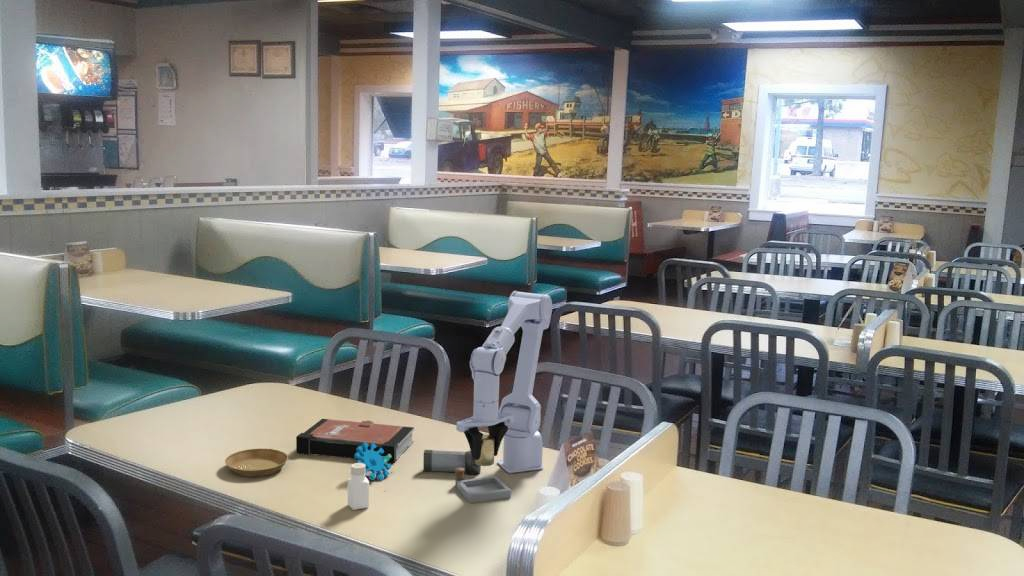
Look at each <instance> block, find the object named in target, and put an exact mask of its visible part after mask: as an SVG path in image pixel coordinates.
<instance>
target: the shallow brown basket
mask: <svg viewBox="0 0 1024 576" xmlns="http://www.w3.org/2000/svg"><path fill="white" fill-rule="evenodd" d="M288 459H289V456H288V454H287V453H285V452H284V451H281V450H278V449H273V448H249V449H243V450H239V451H237V452H234V453H231V454H229V456H227V457H226V458H225V460H224V461H225V462H224V463H225V465H226V466H227V468H229V469H230V470H231V471H232V472H233V473H235V474H237V475H238V474H239V476H243V477H249V476H251V478H252V477H254V478H256V476H257V477H263V476H268V475H272V474H274V473H276V472H278V471H279V470H280V469H281V468H283V466H284V465H285V464H286V463H287V461H288ZM243 465H244V466H243ZM249 465H250V466H249ZM239 466H240V467H239ZM245 466H246V468H245ZM235 467H236V468H235ZM241 467H242V469H241ZM251 467H252V468H251Z"/></svg>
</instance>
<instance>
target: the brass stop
mask: <svg viewBox="0 0 1024 576" xmlns="http://www.w3.org/2000/svg"><path fill="white" fill-rule="evenodd" d="M494 445H495V437H494V436H492V435H489V434H484V433H483V436H482V440H481V445H480V458H479V460H475V464H477V465H480V466H481V467H488V466H493V465H494V464H495V456H494Z"/></svg>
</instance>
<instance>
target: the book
mask: <svg viewBox="0 0 1024 576" xmlns="http://www.w3.org/2000/svg"><path fill="white" fill-rule="evenodd" d="M414 431H415V427H414V426H405V425H404V426H403V425H392V424H382V423H375V422H374V421H372V420H362V421H361V422H360V421H350V420H342V419H341V420H340V419H329V418H321V419H319V420H318V421H317V422H316V423H315V424H314V425H312V426H311V427H309V428H307V430H305V431H304V432H301V433H299V434H298V435H297V436H296V437H295V438H296V441H295V444H296V446H295V447H296V451H295V452H296V453H298V454H300V455H308V456H309V455H314V454H317V456H324V455H325V457H333V456H334V457H335V458H344V459H355V460H357V459H356V458H355V457H354V455H355V454H356V453H357V452H358V451H357V450H356V448H357V447H359V446H362V444H363V443H368V445H369V446H368V447H367V449H368V450H370V445H371V444H372V443H373V444H375V445H376V448H375V449H374V451H375V452H376V451H378V450H379V449H380V448H382V449H383V451H384V453H383V454H379V455H381V456H387V455H388V454H391V456H392V457H391V458H390V459H389V461H388V462H387V464H393V463H394V464H395V463H396V462H398V460H399V459H400V458H401V457H402V456H401V455H402V454H403V455H404V453H406V451H407V450H408V449H409V448H410V447H411V446H412V445H413V443H414V442H415V440H413V432H414ZM362 448H363V447H362ZM363 452H364V448H363ZM360 455H361V454H360ZM400 456H401V457H400ZM334 457H333V458H334ZM361 457H362V456H361Z"/></svg>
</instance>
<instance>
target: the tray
mask: <svg viewBox="0 0 1024 576" xmlns="http://www.w3.org/2000/svg"><path fill="white" fill-rule="evenodd" d="M456 489H457V491H459V493H460V494H462V496H463V497H464V498H465V499H466V501H467V502H468V503H469V502H470V503H469V504H472V503H473V504H474V503H481V502H488V501H496V500H503V499H509V498H512V489H511V488H509V486H507V484H506V483H504V481H502V480H501V479H500V477H498V476H497V475H493V476H486V477H477V478H470V479H469V478H468V479H464V480H461V481H457V487H456Z"/></svg>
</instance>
